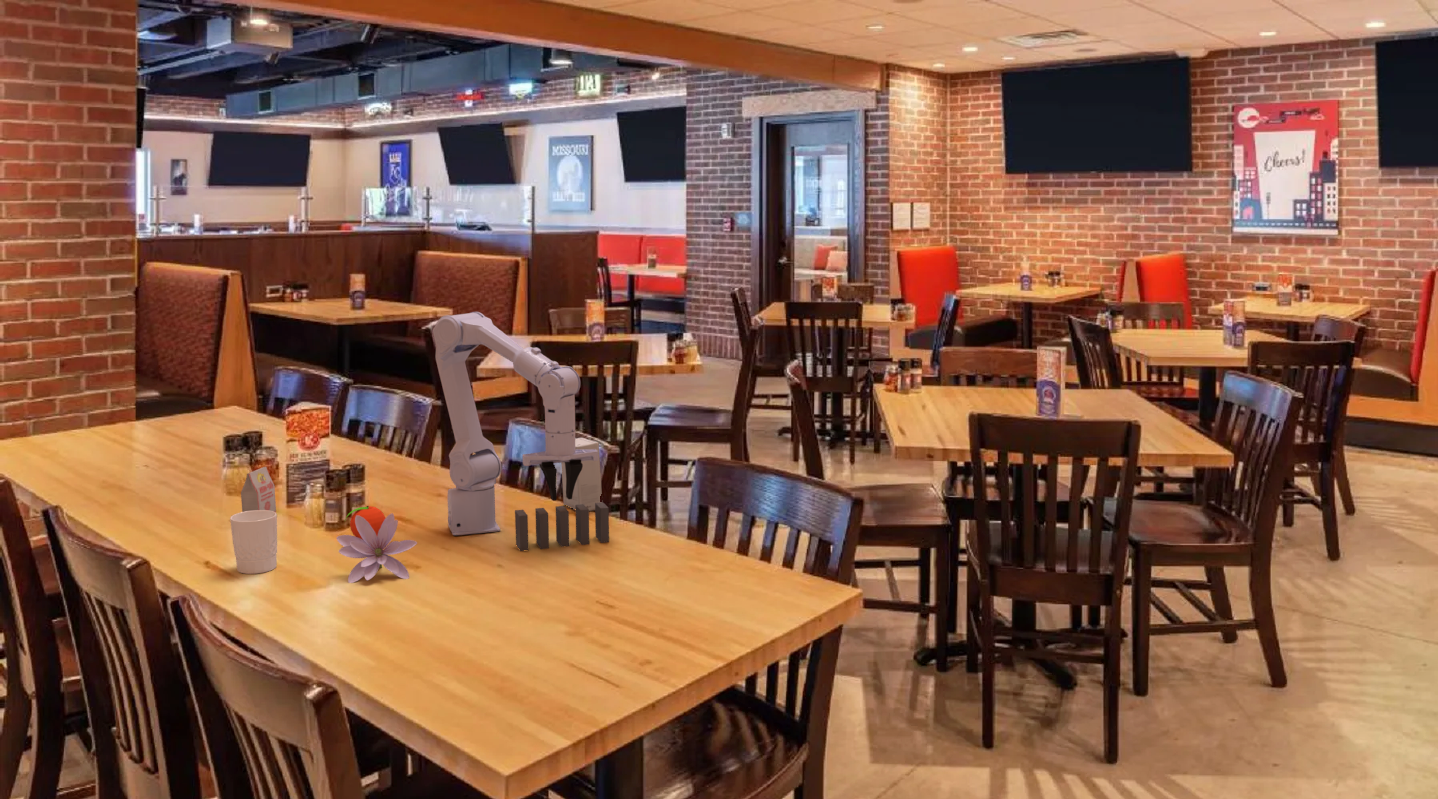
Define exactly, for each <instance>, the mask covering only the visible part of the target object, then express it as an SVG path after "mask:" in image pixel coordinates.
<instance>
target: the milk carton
mask: <svg viewBox="0 0 1438 799" xmlns="http://www.w3.org/2000/svg"><path fill="white" fill-rule="evenodd" d="M267 468H268V467H267V466H262V467H261V468H258V469H256V470H253V471H251V472H248V473H247V474H246V477H245V478H246V479H245V481H244V483H243V486H242V488H241V491H240V499H241V512H245V511H253V510H269V511H274V512H276V513H277V506H276V502H277V501H276V487H275V484H274V481H273V480H272V478H271V476H270V473H269V471H268V469H267Z"/></svg>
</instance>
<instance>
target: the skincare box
mask: <svg viewBox="0 0 1438 799" xmlns="http://www.w3.org/2000/svg"><path fill="white" fill-rule="evenodd" d="M599 444H600V443H599V442H597V441H594V440H590V439H587V438H584V437H578V438H575V449H585V450H586V449H596V450H597V451H598V461H593V460H589V461H581V463H582V464H583V467H582V470H581V472H580V474H579V476H578V478H577V481H576V483H575V487H574V490H573V495H572V499H568V498H567V497H566V469H565V462H562V463H561V465H560V466H561V480H562V495H563V496H562V500H563V506H564V505H567V506H569V507H571V508H573V509H572V510H574V509H576V508H575V505H578V504H584V505H585V506H586V507H587V508H588V509H589V512H590V511H591V512H592V511H595V503H600V496H601V494H603V493H602V476H601V461H600V460H601V457H600V445H599ZM567 506H566V507H567ZM569 507H568V508H569ZM571 508H570V509H571Z"/></svg>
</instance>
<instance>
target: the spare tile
mask: <svg viewBox="0 0 1438 799" xmlns="http://www.w3.org/2000/svg"><path fill="white" fill-rule="evenodd" d="M555 537H556V538H555V539H556V542H557V543H558V544H559V545H558V546H560V547H561V548H564V546H566V547H570V514H569V510H568V509H567V507H566V506H564V505H558V506H557V505H556V506H555Z"/></svg>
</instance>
